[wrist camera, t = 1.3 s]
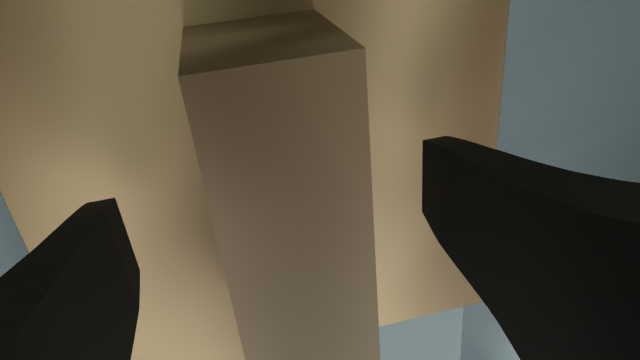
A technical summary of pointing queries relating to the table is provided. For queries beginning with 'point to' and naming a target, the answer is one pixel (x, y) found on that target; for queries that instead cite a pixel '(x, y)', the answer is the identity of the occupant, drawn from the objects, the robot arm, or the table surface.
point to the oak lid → (252, 157)
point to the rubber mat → (423, 337)
